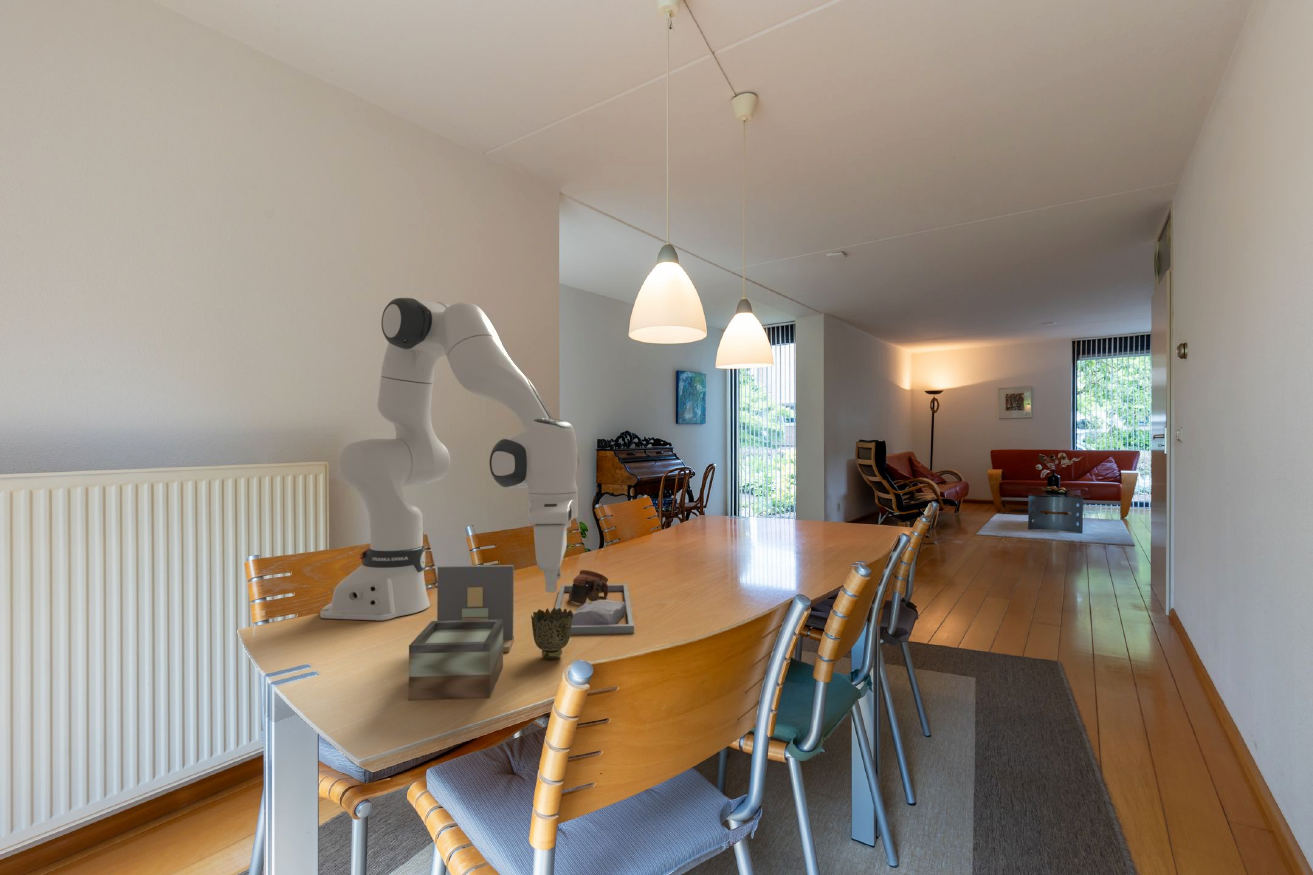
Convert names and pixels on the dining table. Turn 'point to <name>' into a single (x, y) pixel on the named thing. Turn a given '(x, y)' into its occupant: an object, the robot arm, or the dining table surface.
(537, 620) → the cup
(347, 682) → the dining table surface
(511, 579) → the board
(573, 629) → the tray rim
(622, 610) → the stone block
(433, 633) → the striped square box
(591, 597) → the pottery mug
